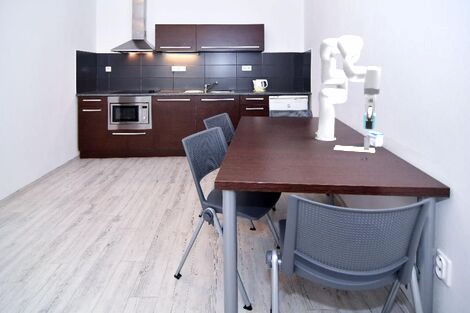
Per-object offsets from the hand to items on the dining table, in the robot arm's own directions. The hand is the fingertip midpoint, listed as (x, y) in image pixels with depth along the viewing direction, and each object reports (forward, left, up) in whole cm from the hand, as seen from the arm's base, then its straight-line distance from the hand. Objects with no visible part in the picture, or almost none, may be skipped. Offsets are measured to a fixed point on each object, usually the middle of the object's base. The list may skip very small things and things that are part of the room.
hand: (368, 127), depth 194 cm
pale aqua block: (0, 0, 0) cm, 0 cm away
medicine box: (-9, +14, -13) cm, 21 cm away
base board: (-5, -4, -13) cm, 14 cm away
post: (0, 0, -11) cm, 11 cm away
